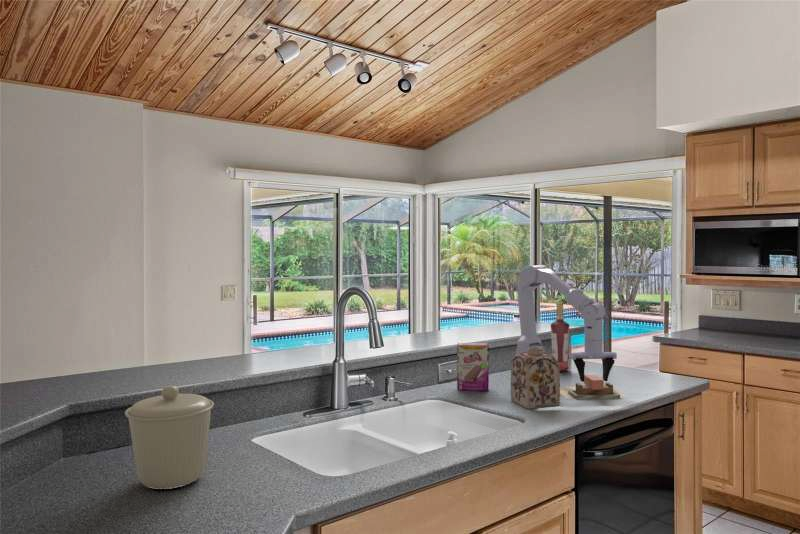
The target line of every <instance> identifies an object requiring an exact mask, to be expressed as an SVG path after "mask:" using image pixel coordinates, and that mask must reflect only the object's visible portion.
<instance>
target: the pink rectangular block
mask: <svg viewBox="0 0 800 534" xmlns="http://www.w3.org/2000/svg"><path fill="white" fill-rule="evenodd" d="M583 385H587V386H588V387H589V388H591V389H592V390H598V389H604V385H605V382H604V380H603V378H601V377H599V376H597V375H596V374H584V382H583Z"/></svg>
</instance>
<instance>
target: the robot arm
mask: <svg viewBox="0 0 800 534" xmlns="http://www.w3.org/2000/svg"><path fill="white" fill-rule="evenodd" d="M518 274H519V275H518V276H519V279H518V283H517V286H516V292H517V304H518V305H517V306H518V314H519V326H520V338H519V339H518V340H517V342H516V350H515V356H516V355H517V354H519V353H522V352H527V350H528V348H532V347H539V348H542V352H544V353H545V349H544V346H543V344H542V339H541V338H540V337H539V336H538V334H537V324H536V323H537V322H536V313H535V312H536V311H535V302H534V292H535V290H536V289H537V288H538V287H539V286H540V285H542V284H546V285H549V286H550V287H552V288H553V289H555V290H556V291H558V293H559V294H562V295H563V296H564V297H565V301H566V303H568V304H569V305H570V307H572V308H573V309H575V310H576V311H577V312H578V313H580V316H581V318H582V319H583V322H584V323H583V324H584V351H581V352H580V351H579V352H571V353H570V359H571V360H572V361H573V363H574V365H575V367H576V369H577V372H578V375H579V380H580V382H583V383H584V375H585V367H586V362H585V360H601V363H602V379H603V380H604V381H605V382H608V380H609V375H610V373H611V370H612V368H613V366H614V365H615V360H617V355H618V354H617V352H614V351H604V348H603V347H604V346H603V345H604V341H603V340H604V333H603V331H604V326H603V324H604V322H603V319H604V318H606V317H605V316H606V313H607V311H606V307H605V306H604V304H603V303H602V302H599V301H596V302H595V299H593V298H590V297H589V296H588V295H586V294H585V293H584V290H583V289H580V288H579V289H578V288H572V287H570V286H569V285H568V284H567V283H566V282H565V281H564V280H563V279H561V278H560V277H559V276H558V275H557V274H556V273H554V271H553V270H552V269H551V268H549V267H548V266H547V265H545V264H539V265H536V264H535V265H530V264H529V265H525V266H524V267H523V268H522V269H521V270H520V271H519V272H518Z"/></svg>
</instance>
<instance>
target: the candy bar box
mask: <svg viewBox="0 0 800 534" xmlns="http://www.w3.org/2000/svg"><path fill="white" fill-rule="evenodd" d="M456 347H457V350H456V351H457V352H456V353H457V354H456V359H457V360H456V365H457V366H456V371H457V372H456V374H457V375H456V377H457V378H456V381H457V382H456V385H457V387H456V389H457V391H463V392H464V391H465V392H466V391H467V392H489V383H490V382H489V376H490V375H489V369H490V368H489V365H490V364H489V363H490V362H489V361H490V359H489V355H490V354H489V353H490V351H489V350H490V349H489V348H490V347H489V343H487V342H486V343H483V342H482V343H478V342H477V343H474V342H471V343H470V342H457V346H456Z"/></svg>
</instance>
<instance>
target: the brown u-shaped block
mask: <svg viewBox="0 0 800 534" xmlns="http://www.w3.org/2000/svg"><path fill="white" fill-rule="evenodd" d="M575 387H576V394H577V395H605V394H613V389H614V385H613V384H611V383H610V382H608V381H606V382H604V389H598V390H592V389H591V388H589V387H588V386H587V385H585V384H583V385H582V384H580V383H579V382H575Z"/></svg>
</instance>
